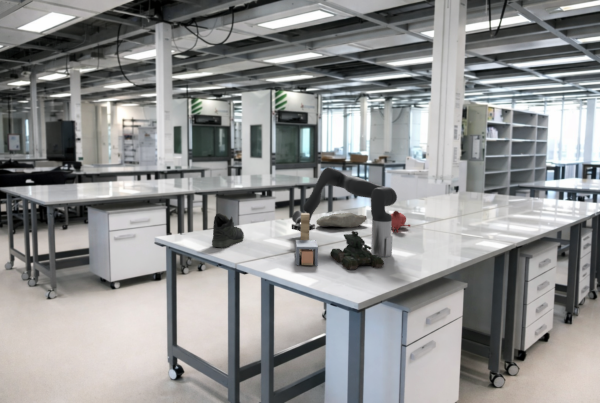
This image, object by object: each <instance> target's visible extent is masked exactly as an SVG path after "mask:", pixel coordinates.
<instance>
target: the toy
mask: <svg viewBox="0 0 600 403" xmlns="http://www.w3.org/2000/svg"><path fill="white" fill-rule="evenodd" d="M390 215H391V216H392V221H391V228H392V230H391V233H394V232H395V230H396V233H399V229H400V228H402V227H411V224H406V223H407V222H406V221H407V216H406V215H405V214H403V213H401V212H399V210H395V211H393V212H392V213H390Z"/></svg>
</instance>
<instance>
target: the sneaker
mask: <svg viewBox="0 0 600 403" xmlns="http://www.w3.org/2000/svg"><path fill="white" fill-rule="evenodd" d="M234 224H235V223H234V220H233V216H231V217H230V218H229V217H228V216H227V215H225V214H222V213H215V216H214V219H213V230H212V233H213V234H212V240H211V246H212V247H213V248H221V249H222V248H224V247H225V248H228V247H230V246H232V245H234V244H237V243H240V241H241V242H243V240H244V238H245V234H244V231H243V229H242V228H240V227H238V226H235V225H234Z"/></svg>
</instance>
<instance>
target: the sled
mask: <svg viewBox="0 0 600 403" xmlns="http://www.w3.org/2000/svg"><path fill="white" fill-rule="evenodd" d="M309 218H310V214H309V213H306V212H303V213H301V232H300V240H310V231H309ZM299 253H300V258H299V259H301V249H300V251H299ZM300 263H301V266H314V262H313V263H302V262H301V261H300Z"/></svg>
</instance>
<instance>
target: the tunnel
mask: <svg viewBox="0 0 600 403" xmlns="http://www.w3.org/2000/svg"><path fill="white" fill-rule="evenodd" d="M300 249H313V265H314V266H315V267H317V266H318V264H319V246H318V242H317V240H315V239H313V240H312V239H311V240H310V239H309V240H301V239H295V253H296V258H295V263H296V264H295V265H296V266H297V265H298V266H300V258H299V253H300V252H299V251H300ZM298 266H297V267H298Z"/></svg>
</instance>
